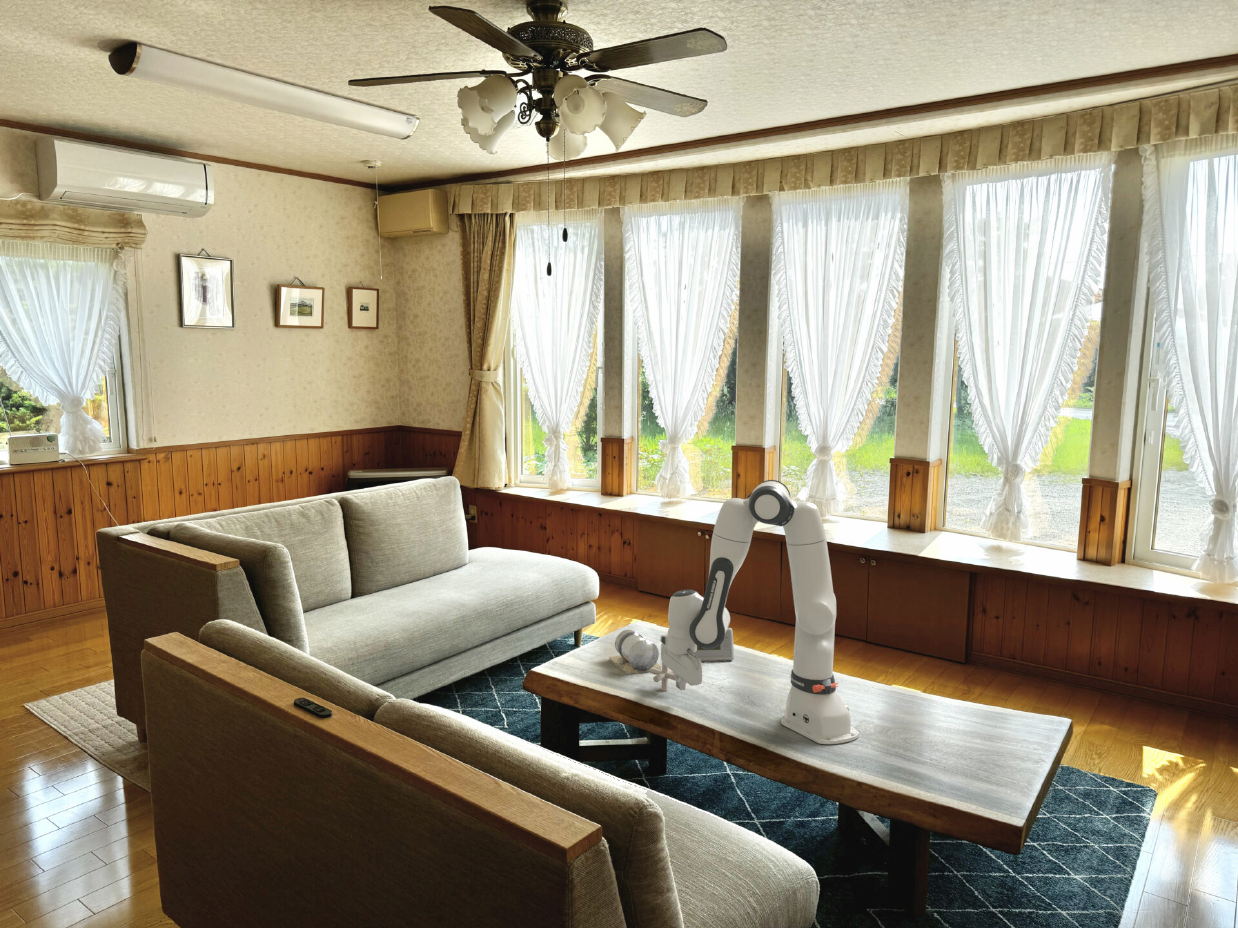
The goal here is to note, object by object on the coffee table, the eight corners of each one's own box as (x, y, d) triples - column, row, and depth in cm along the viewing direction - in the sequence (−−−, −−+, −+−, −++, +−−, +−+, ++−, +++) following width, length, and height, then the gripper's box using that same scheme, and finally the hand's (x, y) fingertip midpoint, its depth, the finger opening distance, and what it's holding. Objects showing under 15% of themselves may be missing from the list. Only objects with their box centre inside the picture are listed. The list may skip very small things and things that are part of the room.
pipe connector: (668, 699, 253) (669, 667, 252) (641, 690, 259) (642, 659, 258) (686, 689, 261) (687, 658, 260) (660, 681, 267) (661, 650, 266)
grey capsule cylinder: (661, 669, 277) (662, 638, 275) (625, 674, 272) (626, 643, 270) (643, 655, 290) (644, 625, 288) (609, 659, 285) (609, 629, 283)
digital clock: (686, 662, 284) (687, 632, 283) (686, 653, 293) (687, 623, 292) (734, 664, 283) (735, 634, 282) (732, 655, 292) (734, 625, 291)
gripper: (708, 654, 240) (706, 700, 242) (676, 632, 258) (674, 674, 260) (689, 656, 237) (687, 703, 239) (657, 634, 256) (656, 677, 258)
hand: (680, 688), depth 250 cm, fingers closed
